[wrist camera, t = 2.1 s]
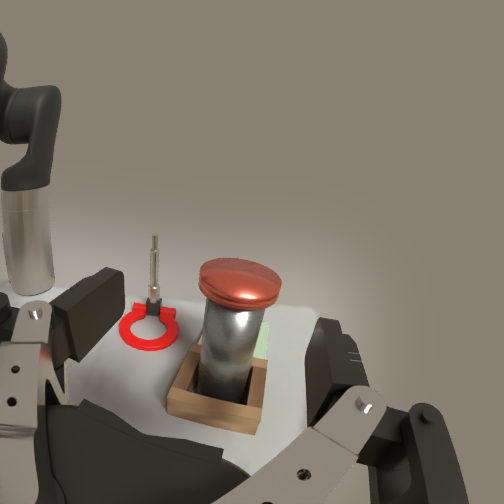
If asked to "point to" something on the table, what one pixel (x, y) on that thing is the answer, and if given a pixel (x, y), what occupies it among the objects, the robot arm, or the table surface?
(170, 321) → the tow hook
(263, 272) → the steel peg
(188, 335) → the table surface
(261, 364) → the brown square frame
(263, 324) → the sage mat
